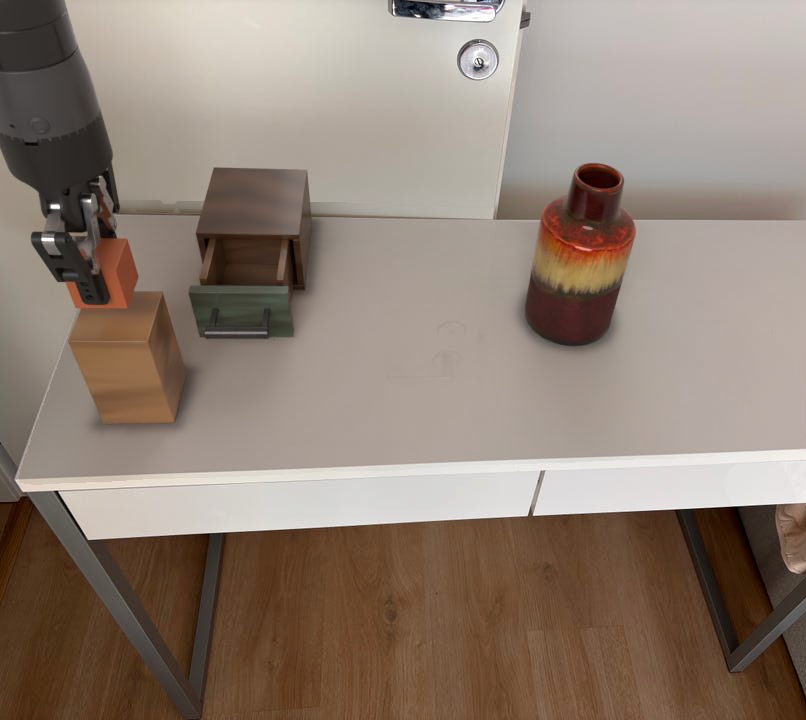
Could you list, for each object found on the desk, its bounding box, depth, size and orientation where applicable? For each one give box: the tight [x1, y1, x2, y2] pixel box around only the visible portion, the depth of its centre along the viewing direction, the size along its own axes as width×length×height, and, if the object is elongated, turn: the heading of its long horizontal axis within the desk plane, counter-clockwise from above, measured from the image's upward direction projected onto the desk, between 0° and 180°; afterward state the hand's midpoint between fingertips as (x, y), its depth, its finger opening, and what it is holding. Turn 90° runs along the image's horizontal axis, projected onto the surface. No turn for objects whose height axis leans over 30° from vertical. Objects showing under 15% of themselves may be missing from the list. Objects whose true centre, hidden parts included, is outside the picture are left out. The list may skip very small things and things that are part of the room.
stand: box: [67, 290, 187, 425], centre depth 76 cm, size 7×7×12 cm
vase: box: [524, 162, 637, 347], centre depth 87 cm, size 11×11×20 cm
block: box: [64, 237, 140, 309], centre depth 68 cm, size 4×4×4 cm
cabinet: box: [195, 166, 313, 291], centre depth 95 cm, size 14×12×9 cm
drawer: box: [187, 238, 296, 340], centre depth 87 cm, size 17×10×7 cm, turn 5°
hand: (104, 282), depth 69 cm, fingers closed on block, 4 cm apart
